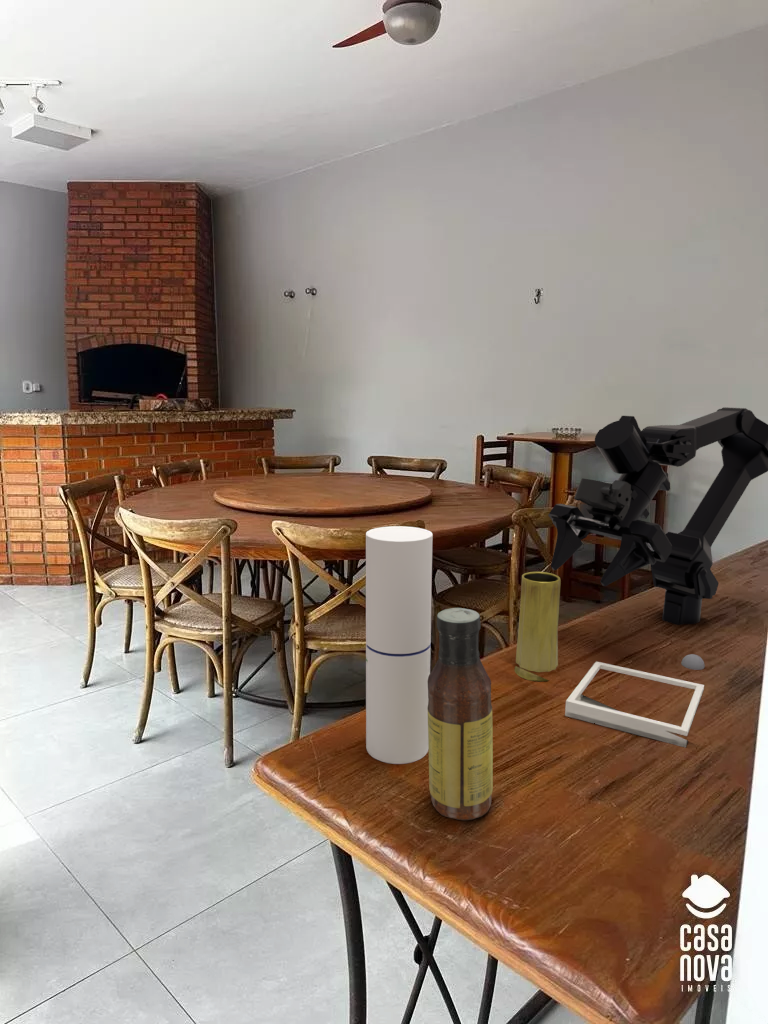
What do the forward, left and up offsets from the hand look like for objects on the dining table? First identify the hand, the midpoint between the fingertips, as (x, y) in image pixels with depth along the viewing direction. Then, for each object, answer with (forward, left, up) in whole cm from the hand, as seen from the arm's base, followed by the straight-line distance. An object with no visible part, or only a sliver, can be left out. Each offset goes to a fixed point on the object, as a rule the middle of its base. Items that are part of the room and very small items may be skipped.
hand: (576, 576), depth 99 cm
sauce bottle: (+37, +14, -13) cm, 42 cm away
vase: (+7, -1, -13) cm, 15 cm away
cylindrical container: (+35, +2, -13) cm, 38 cm away
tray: (+5, +14, -13) cm, 20 cm away
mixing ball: (-10, +13, -12) cm, 20 cm away
